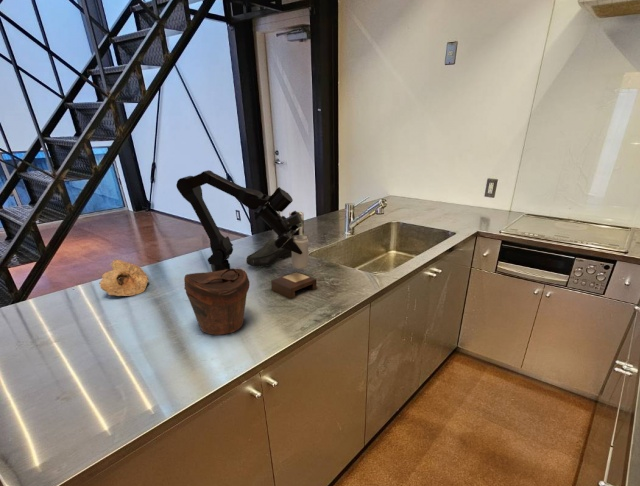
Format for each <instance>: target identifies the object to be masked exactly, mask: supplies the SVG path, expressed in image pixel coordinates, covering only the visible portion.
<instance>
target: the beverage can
mask: <svg viewBox="0 0 640 486" xmlns="http://www.w3.org/2000/svg"><path fill="white" fill-rule="evenodd" d="M294 241H295V243H296V244H297V245H298V247H299V248H300V249H301V251H302V252H303V253H302V254H301V255H300V254H298V253H295V252H293V251H292V256H291V267H293V268H294V269H295V270H306V269H307V268H308V267H309V239H308V236H307V235H305V234H304V235H295V236H294Z"/></svg>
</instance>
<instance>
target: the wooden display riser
mask: <svg viewBox="0 0 640 486" xmlns="http://www.w3.org/2000/svg"><path fill="white" fill-rule="evenodd" d="M270 284H271V285H270V286H271V291H273V292H274V293H277V294H280V295H282V296H283V297H286V298H287V299H289V300H292V299H294V298H296V291H298V290H301V289H304V288H307V289H309V290H311V291H314V290H317V278H315V277H312V276H311V275H307V274H305V273H302V272H299V271H293V272H292V273H288V274H286V275H283V276H279V277H276V278H274V279H271V280H270Z"/></svg>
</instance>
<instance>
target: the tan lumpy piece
mask: <svg viewBox="0 0 640 486" xmlns="http://www.w3.org/2000/svg"><path fill="white" fill-rule="evenodd" d="M110 266H111V268H112V270H109V271H106V272H105V273H103V274H102V276H101V277H102V279H101V280H100V281H99V283H98V284H99V287H100V289H101V290H102V291H104V292H106V293H107V295H109V297H111V296H117V297H121V296H123V297H124V296H125V297H126V296H127V297H129V296H136V295H140V294H141V293H144V291H145V290H146V288H147V286H148V282H149V280H150V279H149V277H148V275H147V273H145V271H144V270H143V268H142V267H140V266H138V265H137V264H133V263H131V262H127V261H124V260H120V259H116V258H115V259H114V260H113V261H112V262H111V263H110Z"/></svg>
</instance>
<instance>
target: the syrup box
mask: <svg viewBox="0 0 640 486" xmlns="http://www.w3.org/2000/svg"><path fill="white" fill-rule="evenodd" d="M292 212H293V211H289V212H288V217H289V216H291V213H292ZM297 212H298V213H299V214H301V218H302V221H301V223H300V227H299V228H300V233H299V234H300V235H304V236H305V218H304V215H305V214H304V212H303V211H300V210H298V211H297ZM299 228H297V229H296V230H298V229H299Z"/></svg>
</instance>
